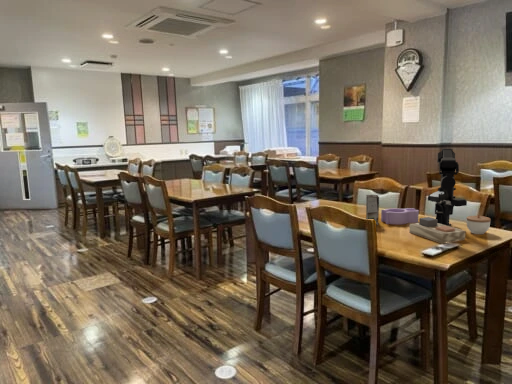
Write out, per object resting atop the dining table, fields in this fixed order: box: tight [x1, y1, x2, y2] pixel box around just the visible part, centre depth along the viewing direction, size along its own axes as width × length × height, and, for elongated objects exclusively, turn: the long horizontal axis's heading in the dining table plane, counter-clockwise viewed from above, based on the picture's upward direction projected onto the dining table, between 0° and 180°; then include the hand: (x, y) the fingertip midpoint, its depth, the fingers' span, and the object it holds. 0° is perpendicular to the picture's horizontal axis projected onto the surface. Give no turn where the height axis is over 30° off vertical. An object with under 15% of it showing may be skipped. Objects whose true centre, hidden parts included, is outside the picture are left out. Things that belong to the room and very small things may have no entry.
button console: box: [408, 222, 466, 244], centre depth 194 cm, size 14×22×4 cm, turn 19°
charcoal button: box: [418, 216, 438, 227], centre depth 199 cm, size 6×6×4 cm
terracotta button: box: [436, 225, 456, 232], centre depth 189 cm, size 6×6×4 cm
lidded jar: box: [465, 214, 492, 235], centre depth 197 cm, size 11×11×9 cm
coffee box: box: [365, 194, 380, 226], centre depth 223 cm, size 9×6×16 cm
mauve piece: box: [380, 207, 420, 225], centre depth 225 cm, size 20×12×7 cm, turn 95°
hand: (445, 217), depth 187 cm, fingers closed
